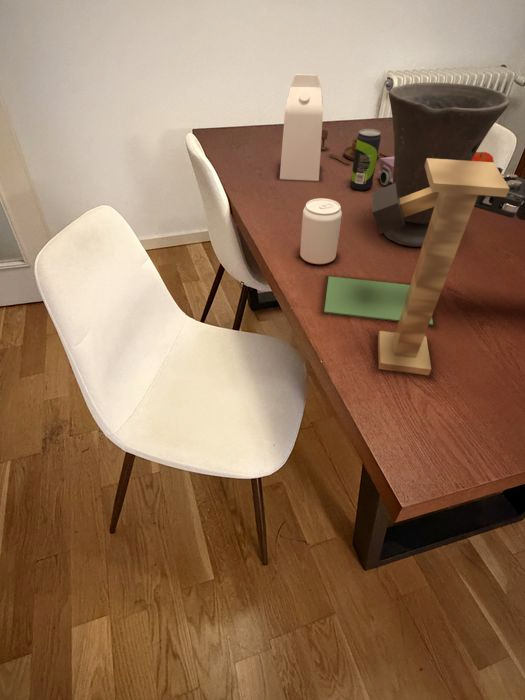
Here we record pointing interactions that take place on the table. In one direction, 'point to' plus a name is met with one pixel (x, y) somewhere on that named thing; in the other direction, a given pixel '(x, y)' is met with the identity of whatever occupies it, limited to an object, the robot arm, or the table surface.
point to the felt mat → (366, 298)
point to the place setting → (348, 151)
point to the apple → (482, 157)
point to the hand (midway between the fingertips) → (441, 183)
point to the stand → (436, 257)
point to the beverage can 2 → (365, 159)
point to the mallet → (398, 206)
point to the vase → (436, 137)
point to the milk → (302, 129)
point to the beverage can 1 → (320, 230)
